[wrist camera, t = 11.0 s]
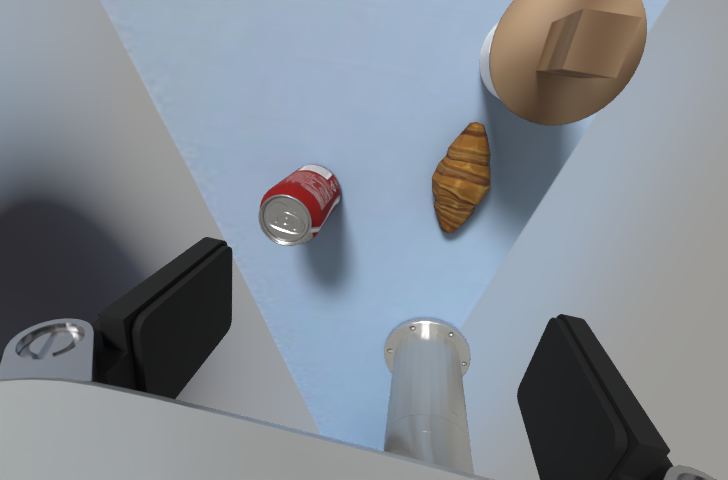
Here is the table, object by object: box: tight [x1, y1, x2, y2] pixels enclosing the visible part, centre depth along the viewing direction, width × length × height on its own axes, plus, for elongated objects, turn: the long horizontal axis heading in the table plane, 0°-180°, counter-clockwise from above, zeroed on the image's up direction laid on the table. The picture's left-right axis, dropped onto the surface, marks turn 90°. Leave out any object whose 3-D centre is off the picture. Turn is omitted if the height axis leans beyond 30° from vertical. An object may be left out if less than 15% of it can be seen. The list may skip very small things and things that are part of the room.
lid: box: [489, 0, 647, 125], centre depth 25 cm, size 10×10×7 cm
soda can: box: [259, 164, 341, 246], centre depth 43 cm, size 7×7×12 cm
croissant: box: [432, 122, 491, 233], centre depth 43 cm, size 14×7×5 cm, turn 171°
